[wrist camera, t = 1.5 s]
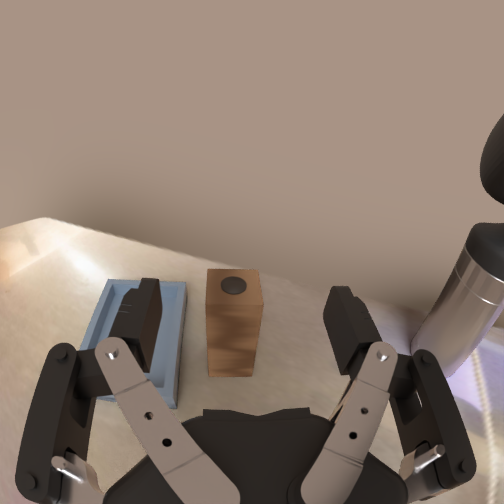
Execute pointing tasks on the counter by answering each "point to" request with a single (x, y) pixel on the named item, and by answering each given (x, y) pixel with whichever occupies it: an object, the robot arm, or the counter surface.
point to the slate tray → (168, 337)
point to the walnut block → (232, 321)
